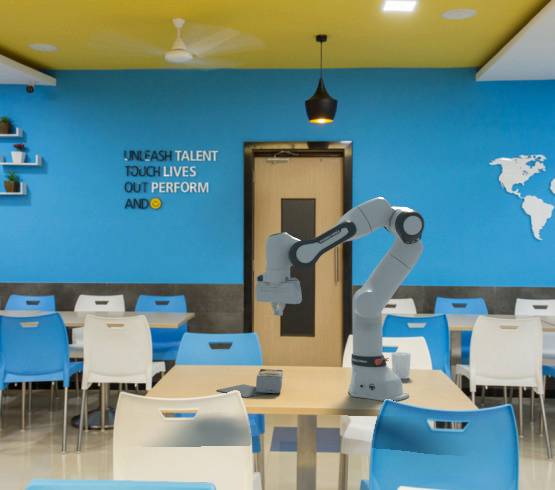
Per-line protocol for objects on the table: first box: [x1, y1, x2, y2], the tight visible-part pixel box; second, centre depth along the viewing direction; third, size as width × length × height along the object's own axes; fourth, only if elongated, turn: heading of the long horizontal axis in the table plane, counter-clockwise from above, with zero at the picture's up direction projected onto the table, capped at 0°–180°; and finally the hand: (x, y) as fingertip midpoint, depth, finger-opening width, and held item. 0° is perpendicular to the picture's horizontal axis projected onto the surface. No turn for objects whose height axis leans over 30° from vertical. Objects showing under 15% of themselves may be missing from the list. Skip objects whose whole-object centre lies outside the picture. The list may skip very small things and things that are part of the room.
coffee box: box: [255, 368, 283, 394], centre depth 221 cm, size 9×6×16 cm
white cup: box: [391, 351, 412, 380], centre depth 246 cm, size 8×8×10 cm
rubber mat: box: [216, 384, 266, 399], centre depth 219 cm, size 16×14×1 cm
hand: (278, 315), depth 211 cm, fingers closed
